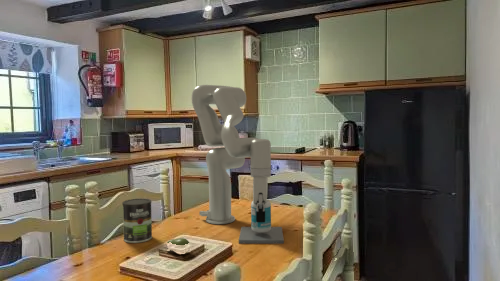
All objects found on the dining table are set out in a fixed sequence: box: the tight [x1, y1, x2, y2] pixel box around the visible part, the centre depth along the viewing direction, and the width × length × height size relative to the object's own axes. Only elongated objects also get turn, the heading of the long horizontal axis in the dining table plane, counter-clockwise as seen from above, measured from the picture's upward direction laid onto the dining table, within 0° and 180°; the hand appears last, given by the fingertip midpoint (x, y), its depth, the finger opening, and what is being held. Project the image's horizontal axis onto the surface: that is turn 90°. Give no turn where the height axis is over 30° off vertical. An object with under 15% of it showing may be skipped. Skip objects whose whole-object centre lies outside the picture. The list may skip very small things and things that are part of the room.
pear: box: [166, 237, 190, 245], centre depth 123 cm, size 6×5×10 cm
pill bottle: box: [250, 194, 272, 233], centre depth 139 cm, size 8×7×14 cm
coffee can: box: [122, 198, 153, 244], centre depth 138 cm, size 10×10×14 cm
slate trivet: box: [238, 226, 285, 245], centre depth 139 cm, size 16×16×1 cm
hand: (260, 218), depth 139 cm, fingers closed on pill bottle, 7 cm apart
